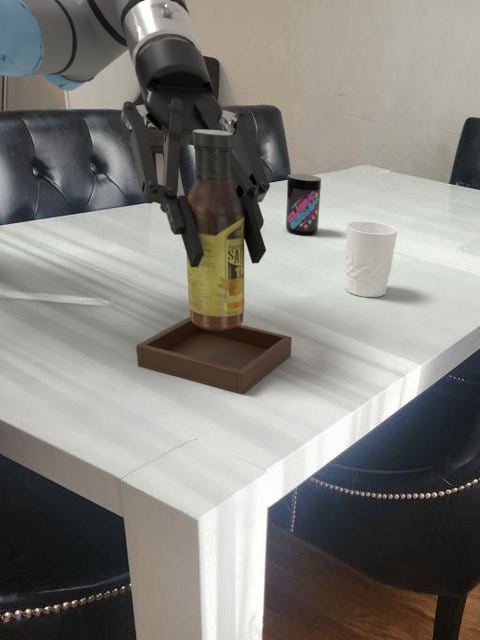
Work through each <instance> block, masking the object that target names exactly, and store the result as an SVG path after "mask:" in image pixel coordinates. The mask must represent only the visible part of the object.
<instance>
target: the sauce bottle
mask: <svg viewBox="0 0 480 640" xmlns="http://www.w3.org/2000/svg"><path fill="white" fill-rule="evenodd" d="M192 140H193V145H192V146H193V149H194V165H195V166H194V167H195V169H194V176H195V180H194V182H193V184H192V187H191V188H190V189H189V190H188V193H187V195H186V196H187V199H188V203H189V206H190V209H191V212H192V216H193V219H194V222H195V226H196V229H197V232H198V235H199V239H200V242H201V245H202V249H203V252H204V255H203V257H202V259H201V261H200V264H199V266H198V267H191V266H190V262H189V259H188V256H187V255H186V273H187V275H186V276H187V293H188V294H187V295H188V308H189V312H190V314H189V315H190V316H189V317H191V321H192V323H193V324H195V325H196V326H198V327H200V328H203V329H207V330H217V331H223V330H228V329H233V328H236V327H238V326H239V325H243V323H244V312H245V239H244V214H243V211H242V208H241V205H240V202H239V199H238V196H237V193H236V189H235V186H234V183H233V174H232V152H233V150H234V148H233V147H234V145H233V134H232V133H229V132H227V131H225V130H222V131H220V130H201V129H198V130H193V131H192Z"/></svg>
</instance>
